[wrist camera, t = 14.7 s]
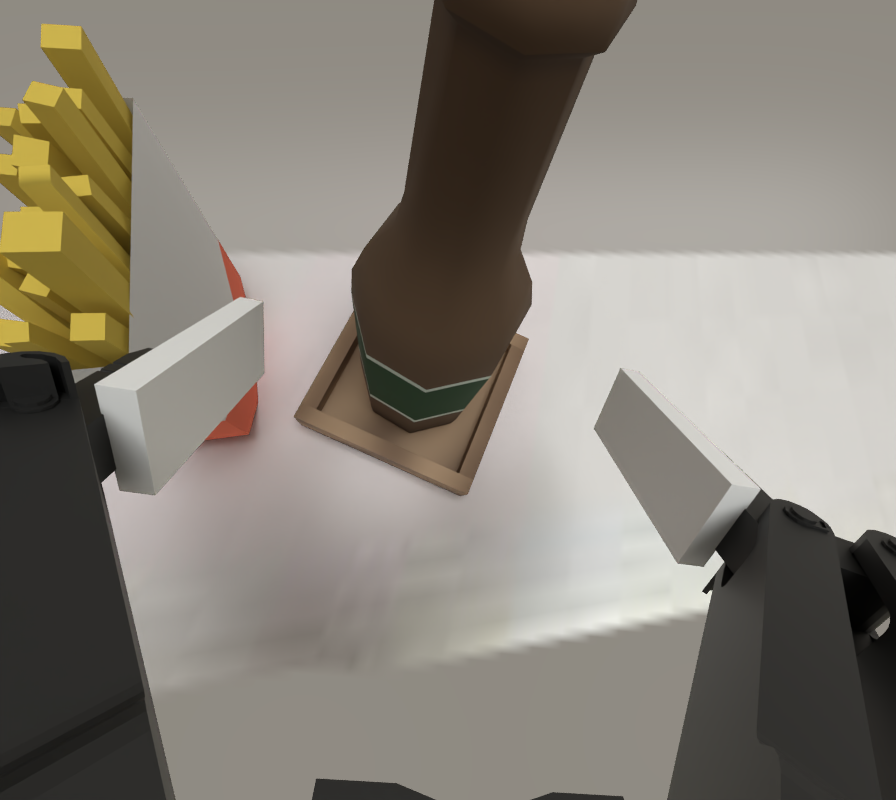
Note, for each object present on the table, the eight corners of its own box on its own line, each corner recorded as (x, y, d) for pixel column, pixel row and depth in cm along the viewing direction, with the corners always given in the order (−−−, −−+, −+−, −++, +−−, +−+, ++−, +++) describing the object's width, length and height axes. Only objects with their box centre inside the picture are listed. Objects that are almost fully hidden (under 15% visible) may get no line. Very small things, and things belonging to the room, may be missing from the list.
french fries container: (186, 451, 26) (-183, 337, 9) (183, 300, 29) (-109, -12, 12) (261, 440, 27) (56, 319, 10) (252, 295, 30) (76, -2, 12)
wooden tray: (301, 424, 28) (293, 416, 25) (378, 286, 31) (377, 268, 29) (460, 495, 28) (467, 494, 26) (517, 351, 32) (528, 338, 29)
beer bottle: (372, 323, 29) (340, -333, 7) (476, 342, 30) (765, -175, 7) (352, 427, 27) (199, -14, 4) (464, 444, 28) (826, 153, 5)
